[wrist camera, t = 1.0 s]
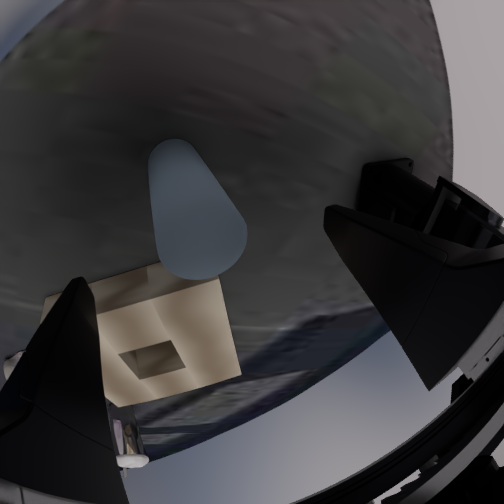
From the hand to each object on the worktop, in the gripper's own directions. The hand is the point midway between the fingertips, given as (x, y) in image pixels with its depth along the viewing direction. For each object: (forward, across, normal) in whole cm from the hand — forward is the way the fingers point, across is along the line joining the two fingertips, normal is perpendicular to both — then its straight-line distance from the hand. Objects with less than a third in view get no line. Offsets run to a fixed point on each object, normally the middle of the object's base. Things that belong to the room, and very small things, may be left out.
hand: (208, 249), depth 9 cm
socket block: (+9, +6, +14) cm, 18 cm away
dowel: (+9, 0, 0) cm, 9 cm away
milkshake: (+10, +16, +28) cm, 34 cm away
